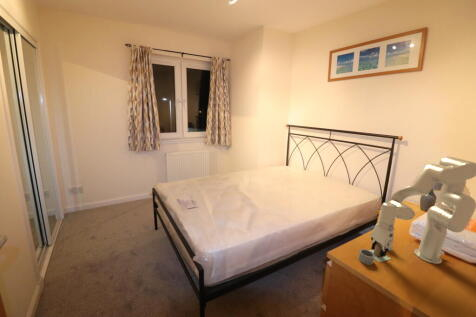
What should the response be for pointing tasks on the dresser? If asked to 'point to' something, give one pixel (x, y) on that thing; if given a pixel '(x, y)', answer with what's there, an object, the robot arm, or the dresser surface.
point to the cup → (366, 256)
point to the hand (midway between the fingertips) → (378, 252)
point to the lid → (377, 253)
